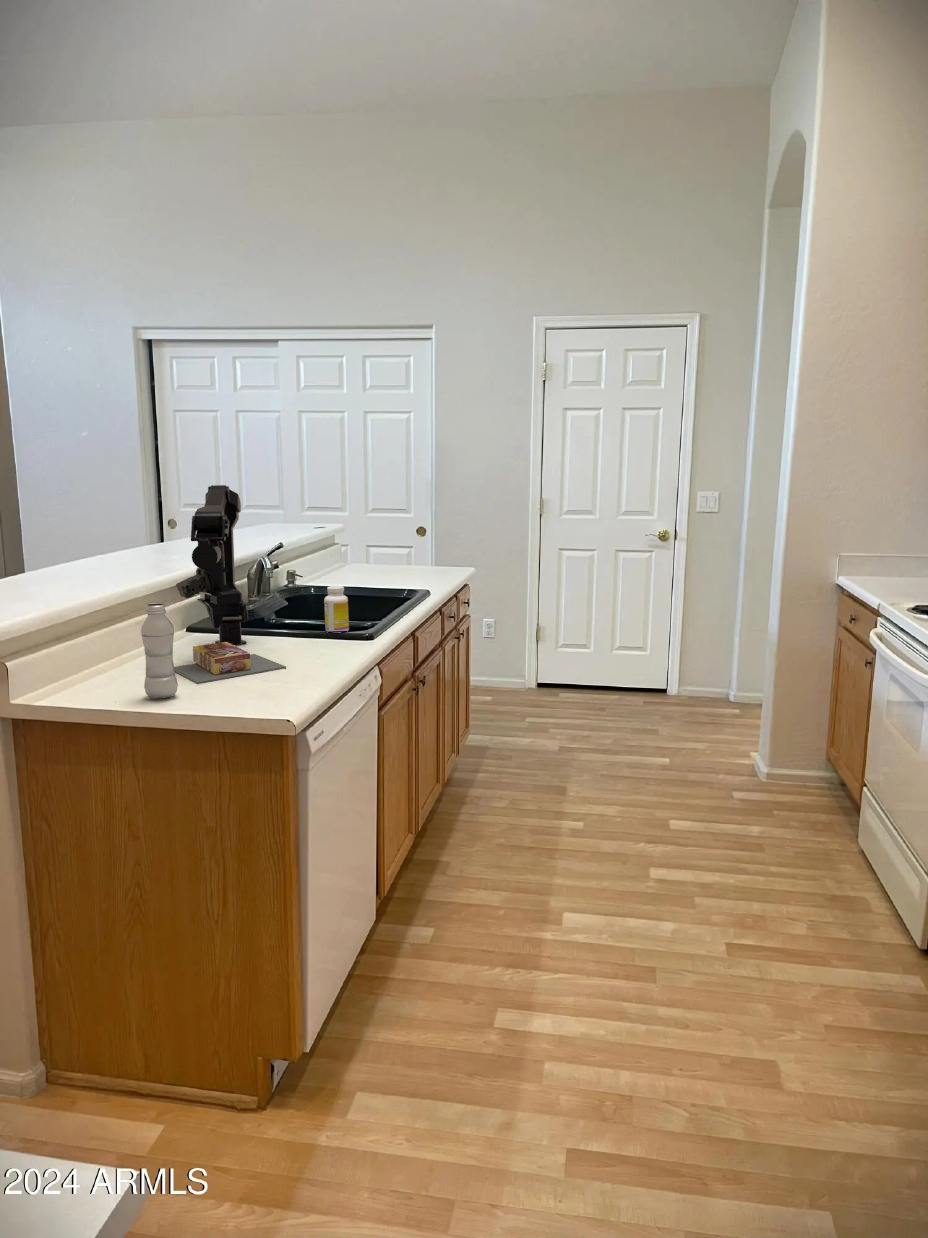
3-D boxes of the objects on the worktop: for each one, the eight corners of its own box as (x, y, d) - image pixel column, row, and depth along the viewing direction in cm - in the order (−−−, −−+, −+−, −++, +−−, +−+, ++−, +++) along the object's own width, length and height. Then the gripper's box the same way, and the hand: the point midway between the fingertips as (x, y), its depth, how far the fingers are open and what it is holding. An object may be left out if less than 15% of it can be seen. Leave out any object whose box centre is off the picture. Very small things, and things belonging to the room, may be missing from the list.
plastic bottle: (149, 693, 189) (142, 602, 185) (181, 692, 190) (175, 601, 186) (141, 702, 183) (133, 607, 179) (174, 701, 183) (168, 607, 180)
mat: (169, 669, 210) (169, 667, 210) (254, 655, 223) (254, 653, 223) (197, 684, 197) (197, 682, 197) (286, 668, 210) (286, 666, 210)
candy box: (193, 663, 214) (214, 675, 202) (191, 646, 214) (213, 657, 201) (228, 658, 219) (251, 669, 207) (227, 641, 219) (250, 651, 206)
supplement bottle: (353, 630, 253) (352, 586, 250) (340, 634, 247) (339, 589, 244) (333, 628, 255) (332, 584, 253) (320, 632, 249) (319, 588, 247)
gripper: (164, 562, 211) (168, 626, 214) (194, 570, 197) (199, 639, 200) (208, 558, 218) (212, 620, 221) (241, 566, 204) (244, 632, 207)
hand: (216, 628), depth 212 cm, fingers closed
